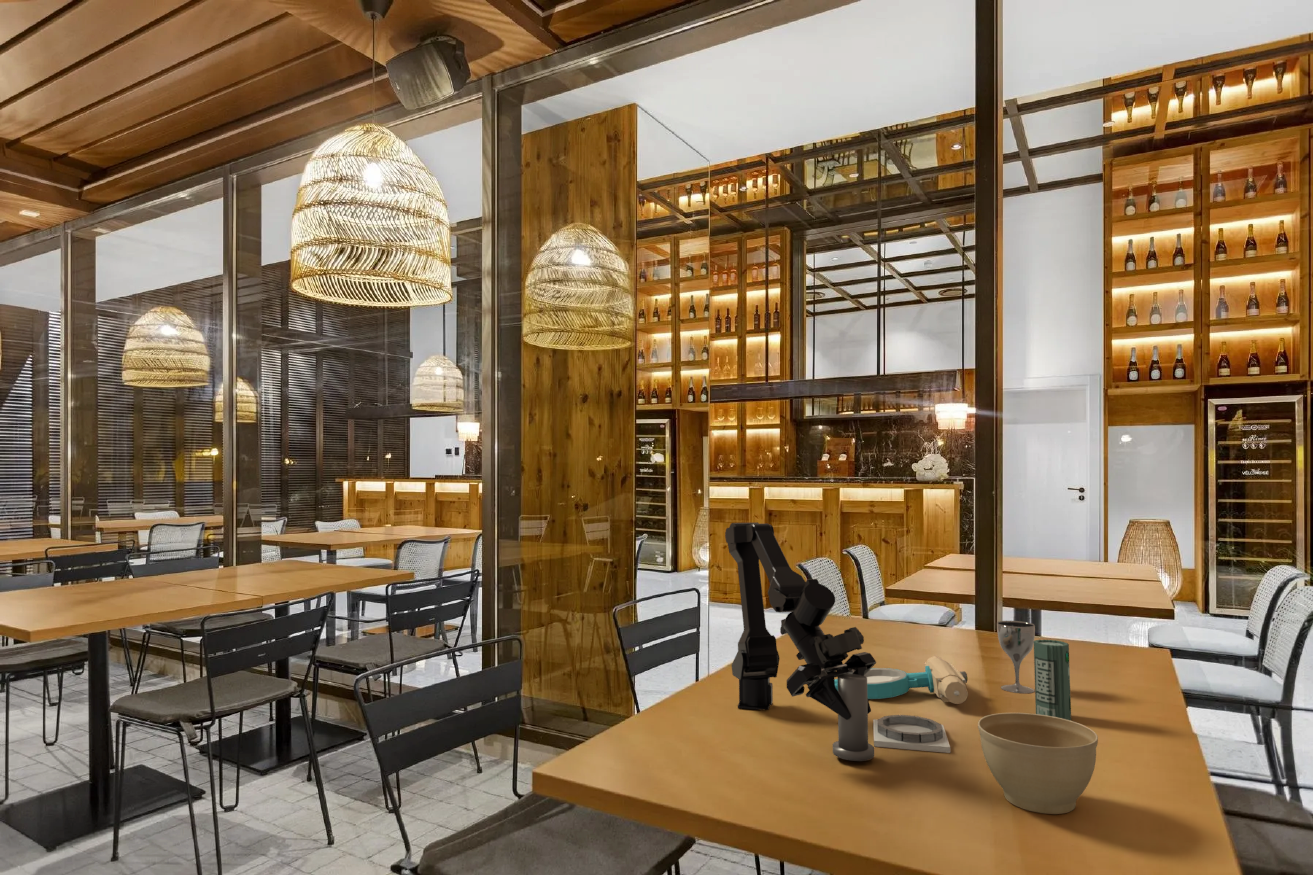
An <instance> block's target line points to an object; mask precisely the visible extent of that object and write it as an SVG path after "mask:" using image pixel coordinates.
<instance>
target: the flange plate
mask: <svg viewBox="0 0 1313 875" xmlns="http://www.w3.org/2000/svg"><path fill="white" fill-rule="evenodd" d="M872 721H873V723H872V725H873V728H872V729H873V747H879V748H890V749H900V750H911V751H923V752H924V751H925V752H933V753H947V754H951V745H950V743H949V739H948V736H947V733H946V729H945V727H944V724H941V723H940V722H937V721H935V720H933V719H930V718H927V717H921V716H918V715H910V714H909V715H908V714H907V715H906V714H892V715H885V716H882V717H879V718H877V719H874V718H873V720H872Z"/></svg>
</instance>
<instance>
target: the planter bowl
mask: <svg viewBox="0 0 1313 875" xmlns="http://www.w3.org/2000/svg"><path fill="white" fill-rule="evenodd" d="M977 729H978V732H979V736H980V738H979V739H980V746H981V750H982V754H983V757H984V760H985V763H986V764H987V767H988V769H989V770H990V773H991V774H992V776H993V777H994V779H995V780H996V782H997V783H998V784H999V786H1000V787H1001V789H1002V791H1003V795H1004V798H1005V799H1006V800H1007V801H1008V802H1009V803H1010V804H1012V805H1014V806H1015V807H1017V808H1021V809H1023V810H1025V811H1028V812H1029V811H1030V812H1033V813H1038V814H1047V815H1058V814H1059V815H1060V814H1066V813H1071V811H1073V810H1075V808H1076V805H1077V800H1078V798H1079V797H1080V796H1082V794H1083V793H1084V791H1085V790H1086V789H1087V787H1088V785H1089V783H1090V781H1091V779H1092V777H1093V774H1094V771H1095V767H1096V766H1095V765H1096V761H1097V747H1098V743H1099V736H1098V734H1097V733H1096V732H1095V731H1094V730H1093V729H1091V728H1090V727H1088V726H1086V725H1084V724H1082V723H1079V722H1076V721H1073V720H1066V719H1062V718H1058V717H1052V716H1047V715H1039V714H1036V713H1028V712H1000V713H992V714H988V715H985V716H983V717H981V718H980V719H979V720H978V722H977Z"/></svg>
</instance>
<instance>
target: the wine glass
mask: <svg viewBox="0 0 1313 875" xmlns="http://www.w3.org/2000/svg"><path fill="white" fill-rule="evenodd" d="M1035 627H1036V626H1035V624H1034V623H1032V622H1027V621H1021V620H1019V621H1018V620H999V621H997V622H996V630H997V633H996V634H997V639H998V642H999V645H1000V648H1001V649H1002V651H1004V652H1005V654H1006V655H1007V656H1008V657H1009V658H1010V660H1011V662H1012V665H1013V667H1014V668H1013V669H1014V674H1015V675H1014V676H1015V677H1014V678H1015V680H1014V681H1015V682H1014V683H1013V684H1005V685H1001V686H1000V689H1001V690H1003V691H1006V692H1009V693H1014V694H1032V693H1035V688H1031V687H1029V686H1025V685H1022V684H1021V683H1020V670H1021V669H1020V668H1021V664H1022V662H1023V660H1024V659H1025V658H1026V657H1027V656H1028V655H1029V654H1031V652H1032V650H1033V649H1034V641H1035V639H1036V638H1035V637H1036V636H1035V635H1036V633H1035V632H1036V628H1035Z"/></svg>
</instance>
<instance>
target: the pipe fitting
mask: <svg viewBox="0 0 1313 875" xmlns="http://www.w3.org/2000/svg"><path fill="white" fill-rule="evenodd" d="M837 679H838V693H839V694H840V696H841V698H842V699H843V701H844V703H845V705H846V706H847V708H848V710H849V712H850V714H851V718H850V719H849V720H846V719H844V718H843V717H841V716H840V715H838V714H837V719H838V721H837V723H838V724H837V726H838V727H837V729H838V733H837V734H838V737H837V738H838V740H837V741H834V742H833V743H832V754H833V756H835V757H836V758H839V759H842V760H846V761H852V762H853V761H854V762H864V761H865V762H866V761H870V760H872V759H874V758H875V746H874V745H872V744H870V743H869V714H868V701H869V699H867V677H865V676H862V675H857V674H841V675H838V677H837Z"/></svg>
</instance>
